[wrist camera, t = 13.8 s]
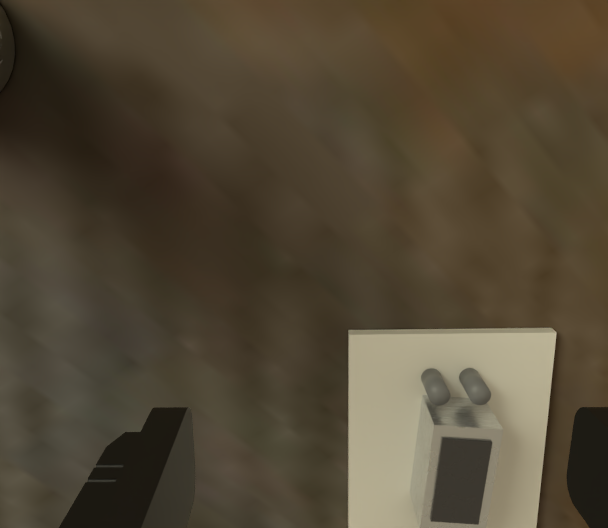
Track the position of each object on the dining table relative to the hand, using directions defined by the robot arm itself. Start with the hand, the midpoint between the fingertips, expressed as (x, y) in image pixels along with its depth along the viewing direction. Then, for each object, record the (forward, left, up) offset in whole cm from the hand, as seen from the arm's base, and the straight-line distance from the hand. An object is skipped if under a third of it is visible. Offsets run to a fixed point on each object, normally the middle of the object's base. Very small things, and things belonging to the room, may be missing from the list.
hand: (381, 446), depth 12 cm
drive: (+9, -20, -30) cm, 37 cm away
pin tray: (+9, -20, -31) cm, 38 cm away
